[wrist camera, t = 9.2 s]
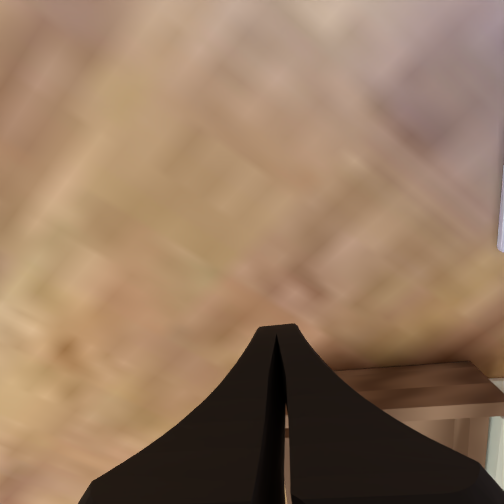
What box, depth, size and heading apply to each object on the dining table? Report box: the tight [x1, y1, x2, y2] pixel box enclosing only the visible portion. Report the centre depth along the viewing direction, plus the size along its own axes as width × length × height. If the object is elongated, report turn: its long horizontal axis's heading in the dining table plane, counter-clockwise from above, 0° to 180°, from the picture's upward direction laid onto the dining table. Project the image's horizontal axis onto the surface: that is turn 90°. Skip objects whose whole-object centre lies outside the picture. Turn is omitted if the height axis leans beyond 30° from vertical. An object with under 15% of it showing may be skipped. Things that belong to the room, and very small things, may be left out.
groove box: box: [284, 361, 504, 504], centre depth 21 cm, size 14×12×4 cm
